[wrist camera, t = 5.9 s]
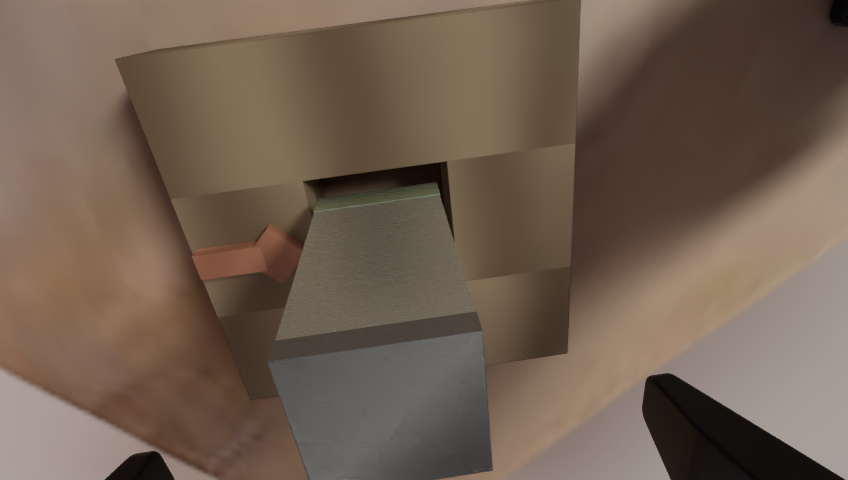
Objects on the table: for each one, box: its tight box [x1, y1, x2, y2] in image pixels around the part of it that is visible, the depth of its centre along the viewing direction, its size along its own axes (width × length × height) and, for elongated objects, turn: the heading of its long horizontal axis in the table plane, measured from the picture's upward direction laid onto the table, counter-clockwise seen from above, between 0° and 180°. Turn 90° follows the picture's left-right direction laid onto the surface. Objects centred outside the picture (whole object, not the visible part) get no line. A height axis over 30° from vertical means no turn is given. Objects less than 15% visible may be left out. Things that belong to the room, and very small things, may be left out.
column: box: [267, 182, 493, 480], centre depth 13 cm, size 4×4×8 cm
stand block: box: [115, 0, 581, 400], centre depth 18 cm, size 14×14×4 cm
